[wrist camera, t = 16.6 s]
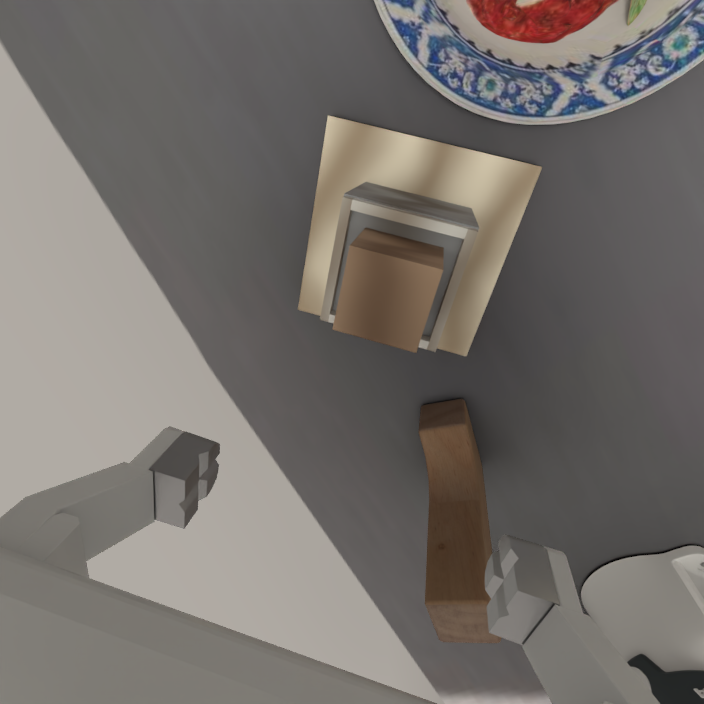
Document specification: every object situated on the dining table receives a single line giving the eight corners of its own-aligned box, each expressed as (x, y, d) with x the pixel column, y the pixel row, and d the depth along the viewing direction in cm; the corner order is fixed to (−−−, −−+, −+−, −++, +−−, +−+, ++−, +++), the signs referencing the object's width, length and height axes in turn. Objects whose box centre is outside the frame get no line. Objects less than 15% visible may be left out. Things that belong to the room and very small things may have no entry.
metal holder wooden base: (538, 165, 31) (577, 176, 22) (465, 349, 38) (471, 413, 29) (332, 116, 32) (289, 107, 23) (302, 303, 40) (261, 352, 31)
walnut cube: (443, 247, 25) (443, 269, 21) (420, 319, 28) (416, 353, 23) (365, 227, 26) (349, 245, 21) (349, 300, 28) (332, 329, 24)
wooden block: (419, 403, 42) (405, 560, 26) (464, 396, 41) (476, 557, 25) (440, 470, 46) (438, 644, 30) (482, 465, 44) (503, 646, 28)
